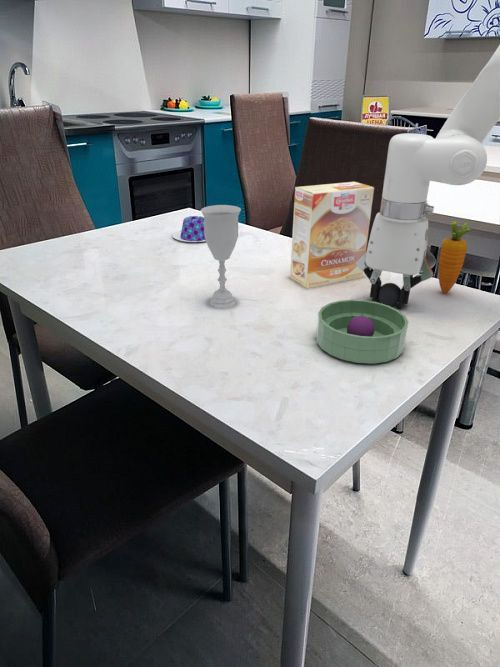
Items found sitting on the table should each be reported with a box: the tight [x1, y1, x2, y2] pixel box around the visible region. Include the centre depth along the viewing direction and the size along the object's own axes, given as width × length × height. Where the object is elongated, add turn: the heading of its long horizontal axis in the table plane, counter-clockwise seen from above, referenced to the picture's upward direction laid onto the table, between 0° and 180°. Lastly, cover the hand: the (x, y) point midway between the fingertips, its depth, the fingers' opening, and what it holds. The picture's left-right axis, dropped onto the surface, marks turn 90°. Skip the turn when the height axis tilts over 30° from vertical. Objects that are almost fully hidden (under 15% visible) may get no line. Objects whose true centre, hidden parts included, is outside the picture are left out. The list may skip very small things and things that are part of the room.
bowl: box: [315, 299, 409, 364], centre depth 82 cm, size 14×14×5 cm
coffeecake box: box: [289, 181, 375, 289], centre depth 105 cm, size 15×7×20 cm, turn 117°
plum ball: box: [347, 316, 375, 337], centre depth 82 cm, size 4×4×4 cm
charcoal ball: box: [378, 282, 402, 307], centre depth 96 cm, size 4×4×4 cm
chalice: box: [200, 204, 242, 309], centre depth 93 cm, size 7×7×18 cm
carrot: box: [438, 221, 471, 294], centre depth 99 cm, size 5×5×15 cm
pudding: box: [172, 215, 206, 243], centre depth 134 cm, size 12×12×5 cm
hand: (388, 303), depth 97 cm, fingers closed on charcoal ball, 4 cm apart
